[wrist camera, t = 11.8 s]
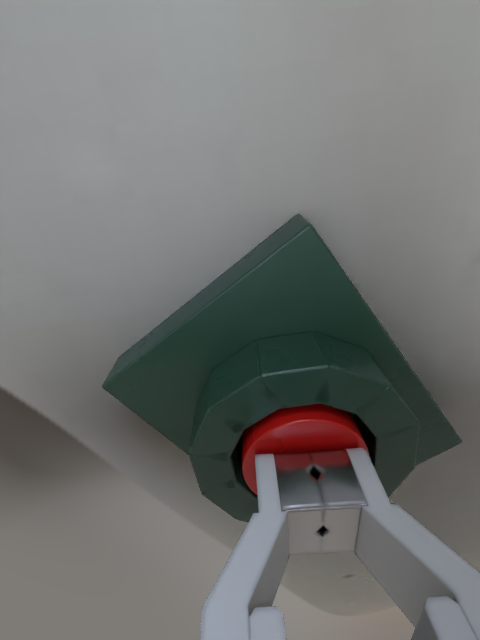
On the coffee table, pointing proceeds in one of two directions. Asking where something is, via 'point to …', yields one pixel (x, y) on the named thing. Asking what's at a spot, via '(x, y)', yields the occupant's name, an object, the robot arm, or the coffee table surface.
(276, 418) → the button
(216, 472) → the button box
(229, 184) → the coffee table surface
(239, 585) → the robot arm
